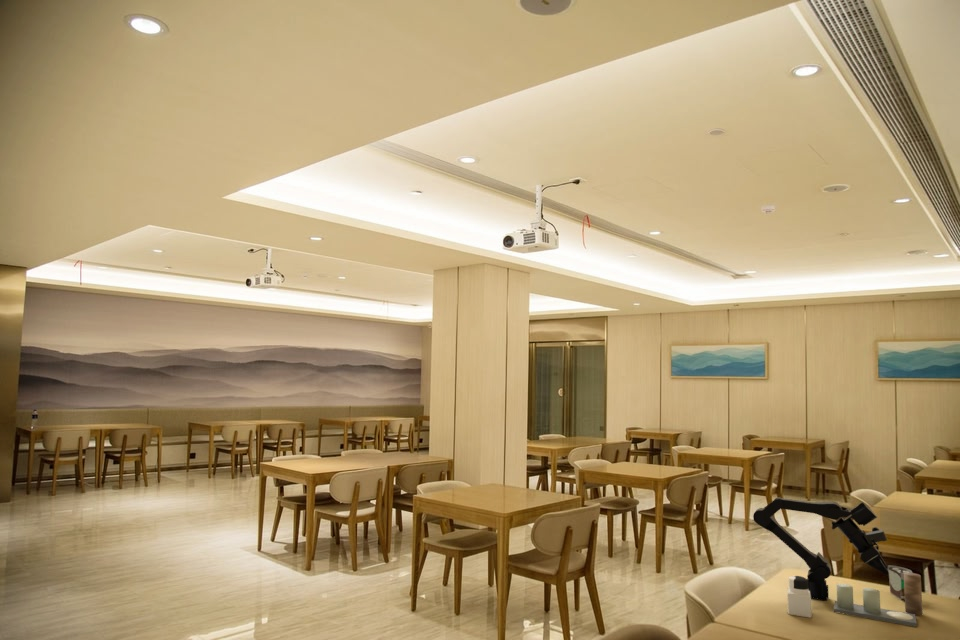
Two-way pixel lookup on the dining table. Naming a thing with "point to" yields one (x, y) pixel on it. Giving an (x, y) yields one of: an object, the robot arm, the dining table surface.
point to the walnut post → (913, 593)
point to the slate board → (879, 615)
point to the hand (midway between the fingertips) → (887, 571)
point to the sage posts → (869, 598)
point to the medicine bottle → (799, 597)
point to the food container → (897, 580)
